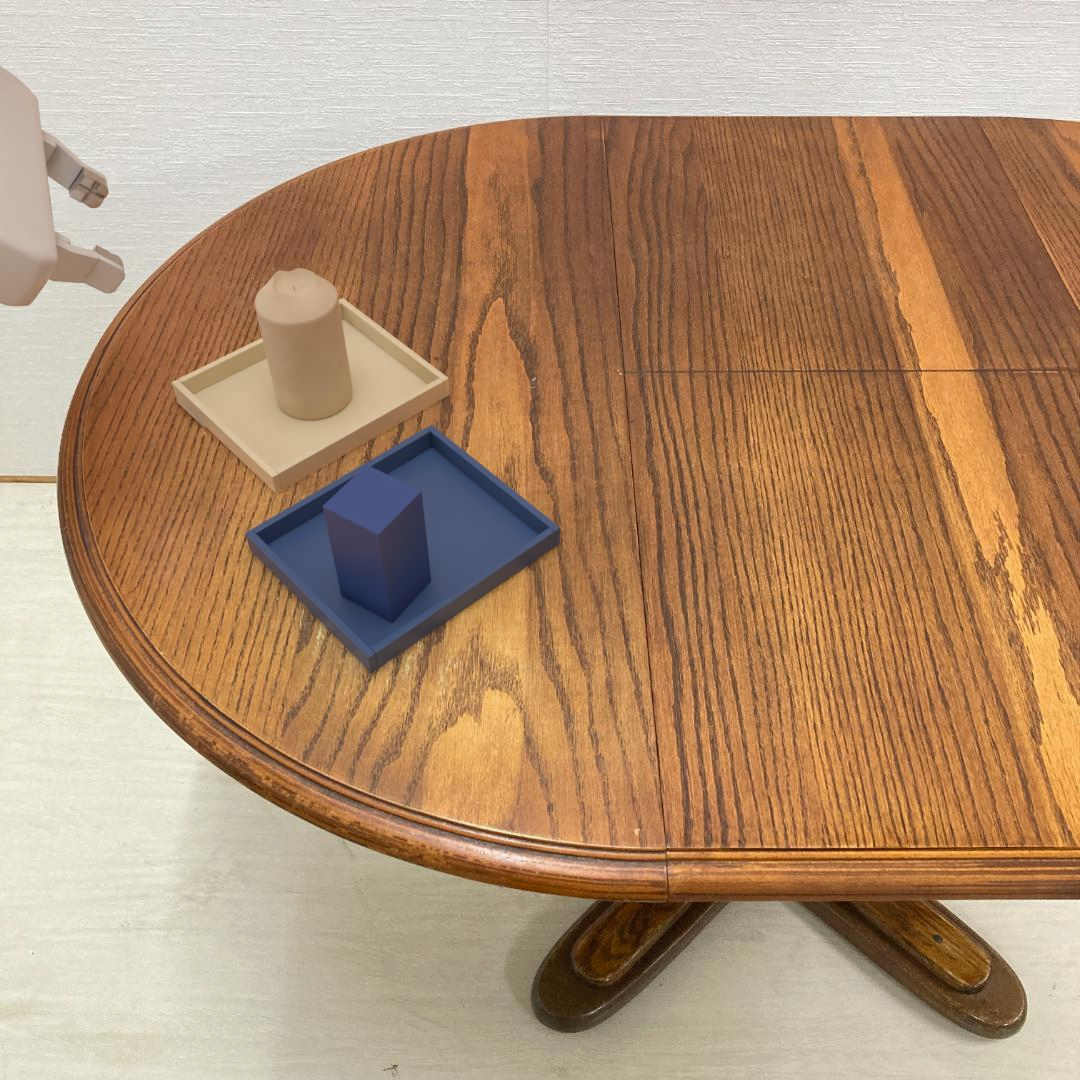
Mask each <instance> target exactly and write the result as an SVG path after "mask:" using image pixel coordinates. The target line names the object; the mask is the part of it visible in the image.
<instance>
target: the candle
mask: <svg viewBox="0 0 1080 1080" xmlns="http://www.w3.org/2000/svg"><path fill="white" fill-rule="evenodd" d="M254 308H255V312H256V318H257V321H258V327H259V330H260V334H261V338H262V339H263V344H264V348H265V352H266V357H267V361H268V365H269V370H270V374H271V379H272V383H273V387H274V392H275V395H276V399H277V402H278V404H279V406H280V408H281V409H282V410H283V411H284V412H285V413H286V414H288V415H290V416H292V417H295V418H298V419H304V420H316V419H322V418H326V417H329V416H332V415H334V414H336V413H338V412H340V411H341V410H342V409H344V408H345V407H346V406H347V404H348V403H349V401H350V400H351V397H352V382H351V375H350V368H349V362H348V356H347V350H346V343H345V337H344V331H343V325H342V318H341V312H340V306H339V294H338V290H337V288H336V287H335V286H334V284H333V283H331V282H330V281H329V280H327V279H325V278H324V277H322V276H320V275H318V274H316V273H315V272H313V271H311V270H309V269H305V268H303V267H302V268H301V267H297V268H294V269H293V270H289V271H287V270H277V271H276V272H275V273H274V274H273V275H272V276H271V278H270V279H269V280H268V281H267V282H266V283H265V284H264V285H263V286H262V287H261V288H260V290H258V292H257V294H256V296H255V298H254Z"/></svg>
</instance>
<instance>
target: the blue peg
mask: <svg viewBox="0 0 1080 1080" xmlns="http://www.w3.org/2000/svg"><path fill="white" fill-rule="evenodd" d="M323 511H324V515H325V520H326V525H327V530H328V535H329V539H330V544H331V549H332V554H333V559H334V564H335V568H336V573H337V578H338V583H339V588H340V592H341V596H343V597H345V598H347V599H349V600H350V601H352V602H354V603H356V604H358V605H360V606H362V607H363V608H365V609H367V610H369V611H371V612H373V613H374V614H376V615H378V616H380V617H382V618H384V619H386V620H387V621H389V622H391V623H393V622H394V621H395V620H396V619H397V618H398V616H399V615H400V614H401V613H402V612H403V611H404V610H405V609H406V608H407V607H408V606H409V604H410V603H411V602H412V601H413V600H414V599H415V598H416V597H417V596H418V595H419V594H420V592H421V591H422V590H423V589H424V588H425V587H426V586H427V585H428V584H429V583H430V582H431V572H430V563H429V554H428V545H427V536H426V526H425V517H424V508H423V499H422V491H420V490H418V489H416V488H414V487H412V486H410V485H408V484H406V483H404V482H402V481H400V480H398V479H396V478H393V477H391V476H389V475H387V474H385V473H383V472H381V471H379V470H377V469H375V468H373V467H371V466H369V465H366V466H365V467H364V468H363V469H362V470H361V471H360V472H358V473H357V474H356V475H355V476H354V477H353V478H352V479H351V480H350V481H349V482H348V483H347V484H346V485H345V486H344V487H343V488H341V489H340V490H339V491H338V492H337V493H336V494H335V495H334V496H333V497H332V498H331V499H330V500H329V501H328V502H327V503H326V504H324V505H323Z"/></svg>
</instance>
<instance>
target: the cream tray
mask: <svg viewBox="0 0 1080 1080" xmlns="http://www.w3.org/2000/svg"><path fill="white" fill-rule="evenodd" d="M338 300H339V306H340V312H341V318H342V325H343V331H344V337H345V343H346V350H347V356H348V362H349V368H350V375H351V382H352V397H351V400H350V401H349V403H348V404H347V406H346V407H345V408H344V409H342V410H341V411H340V412H338V413H336V414H334V415H332V416H329V417H326V418H322V419H316V420H304V419H298V418H295V417H292V416H290V415H288V414H286V413H285V412H284V411H283V410H282V409H281V408H280V406H279V404H278V402H277V399H276V395H275V392H274V387H273V383H272V379H271V374H270V370H269V365H268V361H267V357H266V352H265V348H264V344H263V339H262V337H260V338H259V339H256V340H254V341H253V342H250V343H248V344H246V345H244V346H242V347H239V348H238V349H236V350H234V351H232V352H230V353H228V354H225V355H224V356H222V357H220V358H218V359H216V360H214V361H212V362H209V363H208V364H206V365H204V366H201V367H199V368H198V369H195V370H194V371H191V372H189V373H187V374H185V375H183V376H181V377H179V378H177V379H175V380H173V381H171V385H172V389H173V392H174V395H175V399H176V401H177V404H178V405H179V406H180V407H182V409H184V410H185V411H186V413H188V414H189V415H190V417H192V418H193V419H194V420H195V421H196V422H197V423H198V424H199V425H200V426H201V427H202V428H204V427H205V428H206V429H208V430H209V431H210V432H211V433H212V434H213V435H214V436H215V437H216V438H217V439H218V440H219V441H220V442H221V443H222V444H223V445H224V446H226V447H227V448H228V450H230V451H231V452H232V454H233V455H234V456H236V457H237V458H238V459H239V460H240V461H241V462H242V463H244V465H245V466H246V467H247V468H248V469H250V470H251V471H252V473H254V474H255V475H256V476H257V477H258V478H259V479H260V480H261V481H262V482H263V483H264V484H265V485H266V486H268V488H270V489H271V491H273V492H274V494H278V493H280V492H282V491H284V490H285V489H287V488H289V487H291V486H292V485H294V484H296V483H298V482H299V481H302V480H303V479H304V478H306V477H308V476H310V475H312V474H313V473H315V472H317V471H318V470H321V469H323V468H324V467H325V466H327V465H329V464H331V463H333V462H334V461H336V460H339V458H341V457H344V456H345V455H347V454H349V453H350V452H352V451H354V450H356V449H357V448H359V447H361V446H362V445H364V444H367V443H368V442H370V441H371V440H373V439H375V438H376V437H378V436H380V435H382V434H384V433H385V432H387V431H389V430H390V429H392V428H394V427H396V426H398V425H399V424H402V422H404V421H406V420H408V419H410V418H411V417H413V416H416V415H417V414H419V413H421V412H423V411H424V410H427V408H429V407H431V406H433V405H435V404H436V403H438V402H440V401H441V400H443V399H445V398H447V397H449V396H450V395H451V390H450V379H449V377H448V376H446V374H444V373H442V371H440V370H439V369H437V367H435V366H433V365H432V364H431V363H429V362H428V361H427V360H425V358H423V357H422V356H420V355H419V354H418V353H416V352H415V351H413V350H412V349H411V348H409V347H408V346H407V345H406V344H404V343H403V342H401V341H400V340H399V339H398V338H396V336H394V335H392V334H391V333H390V332H389V331H387V329H385V328H383V326H381V325H379V324H378V323H377V322H375V321H374V320H373V319H372V318H370V317H369V316H367V315H366V314H365V313H363V312H362V311H361V310H359V309H358V308H357V307H356V306H354V305H353V304H351V303H350V302H349V301H348V300H346V299H345V298H344V297H342V298H340V299H339V298H338Z"/></svg>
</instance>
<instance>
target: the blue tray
mask: <svg viewBox="0 0 1080 1080" xmlns="http://www.w3.org/2000/svg"><path fill="white" fill-rule="evenodd" d="M366 465H369V466H371V467H373V468H375V469H377V470H379V471H381V472H383V473H385V474H387V475H389V476H391V477H393V478H396V479H398V480H400V481H402V482H404V483H406V484H408V485H410V486H412V487H414V488H416V489H418V490H420V491H422V499H423V508H424V517H425V526H426V536H427V545H428V554H429V563H430V572H431V582H430V583H429V584H428V585H427V586H426V587H425V588H424V589H423V590H422V591H421V592H420V594H419V595H418V596H417V597H416V598H415V599H414V600H413V601H412V602H411V603H410V604H409V606H408V607H407V608H406V609H405V610H404V611H403V612H402V613H401V614H400V615H399V616H398V618H397V619H396V620H395V621H394V622H393V623H391V622H389V621H387V620H386V619H384V618H382V617H380V616H378V615H376V614H374V613H373V612H371V611H369V610H367V609H365V608H363V607H362V606H360V605H358V604H356V603H354V602H352V601H350V600H349V599H347V598H345V597H343V596H341V592H340V588H339V583H338V578H337V573H336V568H335V564H334V559H333V554H332V549H331V544H330V539H329V535H328V530H327V525H326V520H325V515H324V511H323V505H324V504H326V503H327V502H328V501H329V500H330V499H331V498H332V497H333V496H334V495H335V494H336V493H337V492H338V491H339V490H340V489H341V488H343V487H344V486H345V485H346V484H347V483H348V482H349V481H350V480H351V479H352V478H353V477H354V476H355V475H356V474H357V473H358V472H360V471H361V470H362V469H363V468H364V467H365V466H366ZM244 534H245V537H246V541H247V545H248V548H249V550H250V551H251V552H252V554H254V555H255V556H256V557H257V559H259V560H260V562H261V563H263V565H264V566H266V568H268V570H270V572H272V574H273V575H274V576H275V577H276V578H277V579H278V580H279V581H280V582H281V583H282V584H283V585H284V586H285V587H286V588H287V589H288V590H289V591H290V592H291V593H292V594H293V595H294V596H295V597H296V598H297V599H298V600H299V601H300V602H301V603H302V604H303V605H304V606H305V607H306V608H307V609H308V611H310V612H311V614H313V615H314V617H316V618H317V619H318V621H320V622H321V623H322V625H323V626H324V627H325V628H326V629H327V630H328V631H329V632H330V633H331V634H332V635H333V636H334V637H335V638H336V639H337V640H338V641H339V642H340V643H341V644H342V645H343V646H344V647H345V648H346V649H347V650H348V651H349V652H350V653H351V655H353V656H354V657H355V658H356V659H357V660H358V661H359V662H360V663H361V665H363V666H364V668H366V670H368V671H369V672H370V673H371V674H373V673H374V672H376V671H377V670H379V669H380V668H382V667H384V665H386V664H387V663H389V662H390V661H392V660H393V659H395V658H397V656H399V655H400V654H402V653H403V652H405V651H406V650H408V649H409V648H411V647H413V646H414V645H415V644H417V643H419V642H420V641H421V640H422V639H424V638H425V637H427V636H428V635H430V634H431V633H433V632H434V631H435V630H437V629H438V628H440V627H442V626H443V625H444V624H446V623H447V622H448V621H450V620H451V619H453V618H454V617H456V616H457V615H458V614H460V613H461V612H463V611H464V610H466V609H468V608H469V607H470V606H471V605H473V604H475V603H476V602H478V601H479V600H481V599H482V598H484V597H485V596H487V595H488V594H489V593H491V592H492V591H494V590H495V589H496V588H498V587H499V586H501V585H502V584H504V583H505V582H506V581H508V580H509V579H511V578H512V577H514V576H515V575H517V574H518V573H520V572H521V571H523V570H524V569H525V568H527V567H529V566H530V565H531V564H533V563H535V562H536V561H537V560H539V559H540V558H541V557H543V556H544V555H546V554H547V553H549V552H551V550H553V549H554V548H556V547H557V546H559V545H560V543H561V527H560V526H559V524H557V523H555V522H554V521H553V520H551V519H550V518H549V517H548V516H547V515H546V514H544V513H543V512H541V511H540V510H539V509H538V508H536V507H535V506H534V505H533V504H531V503H530V502H529V501H528V500H527V499H525V498H524V497H523V496H521V495H520V494H519V493H518V492H516V491H515V490H514V489H513V488H511V487H510V486H509V485H508V484H506V482H504V481H503V480H501V479H500V478H499V477H498V476H497V475H495V474H494V473H493V472H492V471H490V470H489V469H488V468H486V467H485V466H484V465H483V464H481V463H480V462H479V461H478V460H476V458H474V457H473V456H471V454H469V453H468V452H467V451H465V450H464V449H463V448H462V447H460V446H459V445H458V444H457V443H455V442H454V441H453V440H451V438H449V437H448V436H446V435H445V434H444V433H443V432H441V430H439V429H438V428H437V427H435V426H434V425H433V424H430V425H428V426H427V427H425V428H423V429H421V430H419V431H418V432H417V433H415V434H413V435H411V436H410V437H408V438H406V439H404V440H402V441H401V442H399V443H397V444H396V445H394V446H392V447H390V448H389V449H387V450H385V451H384V452H382V453H380V454H379V455H377V456H374V457H373V458H372V459H369V461H366V462H365V463H363V464H361V465H359V466H358V467H356V468H354V469H353V470H350V471H349V472H347V473H346V474H344V475H342V476H340V477H339V478H337V479H335V480H334V481H332V482H330V483H328V484H327V485H325V486H323V487H322V488H320V489H318V490H317V491H315V492H313V493H312V494H310V495H308V496H306V497H304V498H303V499H300V500H299V501H298V502H295V503H294V504H292V505H291V506H289V507H287V508H286V509H284V510H282V511H280V512H279V513H277V514H275V515H274V516H272V517H270V518H268V519H267V520H265V521H263V522H261V523H259V524H257V525H256V526H254V527H252V528H251V529H249V530H248V531H246V532H245V533H244Z"/></svg>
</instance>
